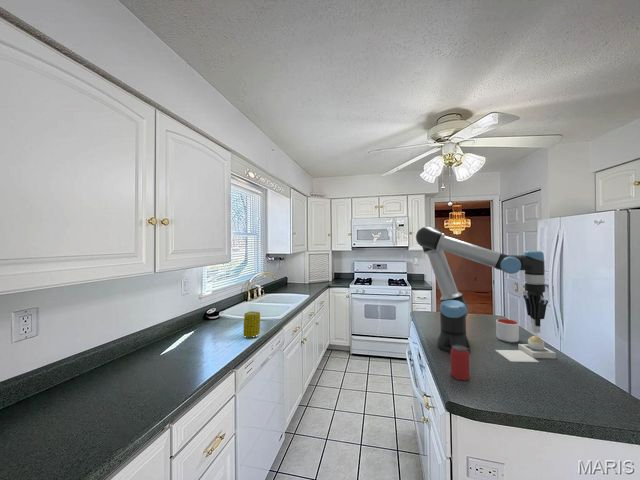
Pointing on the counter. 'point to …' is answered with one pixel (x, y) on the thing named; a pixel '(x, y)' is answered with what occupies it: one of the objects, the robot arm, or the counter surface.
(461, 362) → the beer can
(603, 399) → the counter surface
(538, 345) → the dome
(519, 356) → the pad
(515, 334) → the cup
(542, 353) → the dome base
